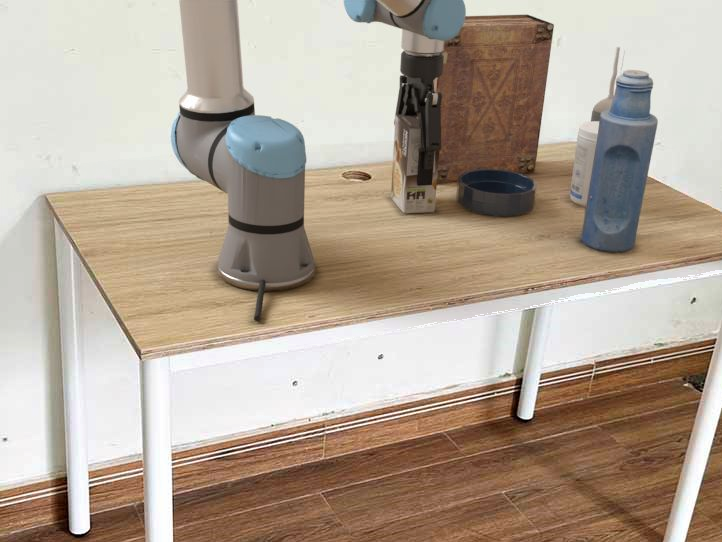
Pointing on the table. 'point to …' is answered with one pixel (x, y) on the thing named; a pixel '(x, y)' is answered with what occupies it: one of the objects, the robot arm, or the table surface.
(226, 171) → the robot arm
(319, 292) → the table surface
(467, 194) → the bowl
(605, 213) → the bottle
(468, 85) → the book
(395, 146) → the coffee box
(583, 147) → the supplement tub
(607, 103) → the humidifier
